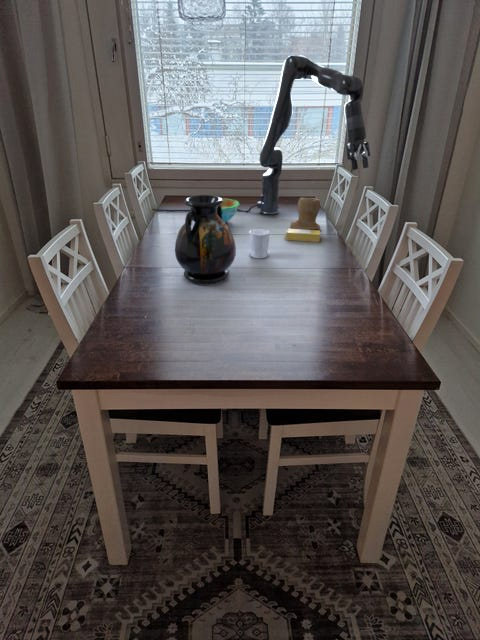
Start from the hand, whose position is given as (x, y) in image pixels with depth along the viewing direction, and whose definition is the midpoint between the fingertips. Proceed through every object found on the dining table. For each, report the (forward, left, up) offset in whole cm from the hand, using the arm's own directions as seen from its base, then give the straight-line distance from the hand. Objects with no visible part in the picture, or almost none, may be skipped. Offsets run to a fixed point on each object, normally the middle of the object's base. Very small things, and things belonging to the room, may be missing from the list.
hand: (360, 168), depth 175 cm
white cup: (-39, -31, -31) cm, 58 cm away
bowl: (-66, +12, -31) cm, 74 cm away
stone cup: (-22, +10, -31) cm, 39 cm away
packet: (-22, -6, -30) cm, 38 cm away
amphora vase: (-55, -56, -31) cm, 84 cm away
